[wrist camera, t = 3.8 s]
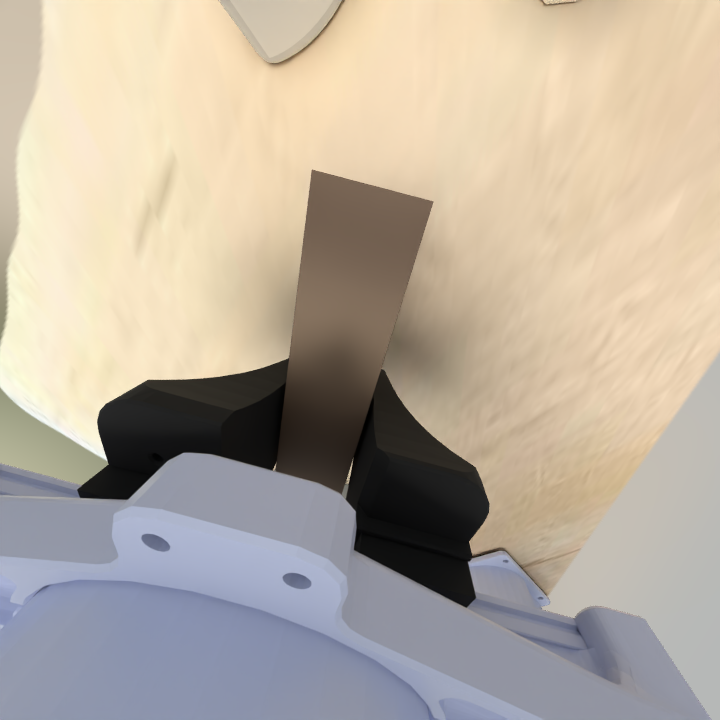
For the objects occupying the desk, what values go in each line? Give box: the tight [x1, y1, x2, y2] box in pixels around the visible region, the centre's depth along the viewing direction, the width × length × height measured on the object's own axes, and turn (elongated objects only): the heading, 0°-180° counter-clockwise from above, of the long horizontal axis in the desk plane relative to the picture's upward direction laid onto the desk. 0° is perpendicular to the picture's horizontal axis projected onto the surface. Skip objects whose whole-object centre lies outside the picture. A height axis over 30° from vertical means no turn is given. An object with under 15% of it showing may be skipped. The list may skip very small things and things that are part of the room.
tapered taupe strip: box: [276, 170, 433, 495], centre depth 11 cm, size 14×2×6 cm, turn 167°
